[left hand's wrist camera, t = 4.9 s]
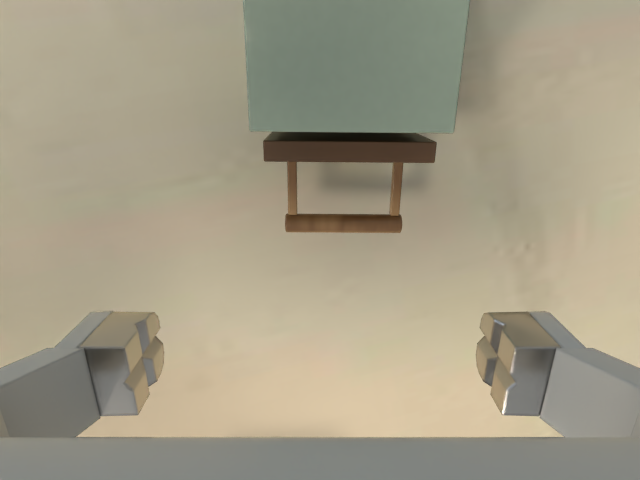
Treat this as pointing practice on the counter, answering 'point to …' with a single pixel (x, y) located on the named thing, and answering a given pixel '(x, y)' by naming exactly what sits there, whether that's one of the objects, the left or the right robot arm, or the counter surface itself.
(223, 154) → the counter surface
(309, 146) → the drawer
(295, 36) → the cabinet
